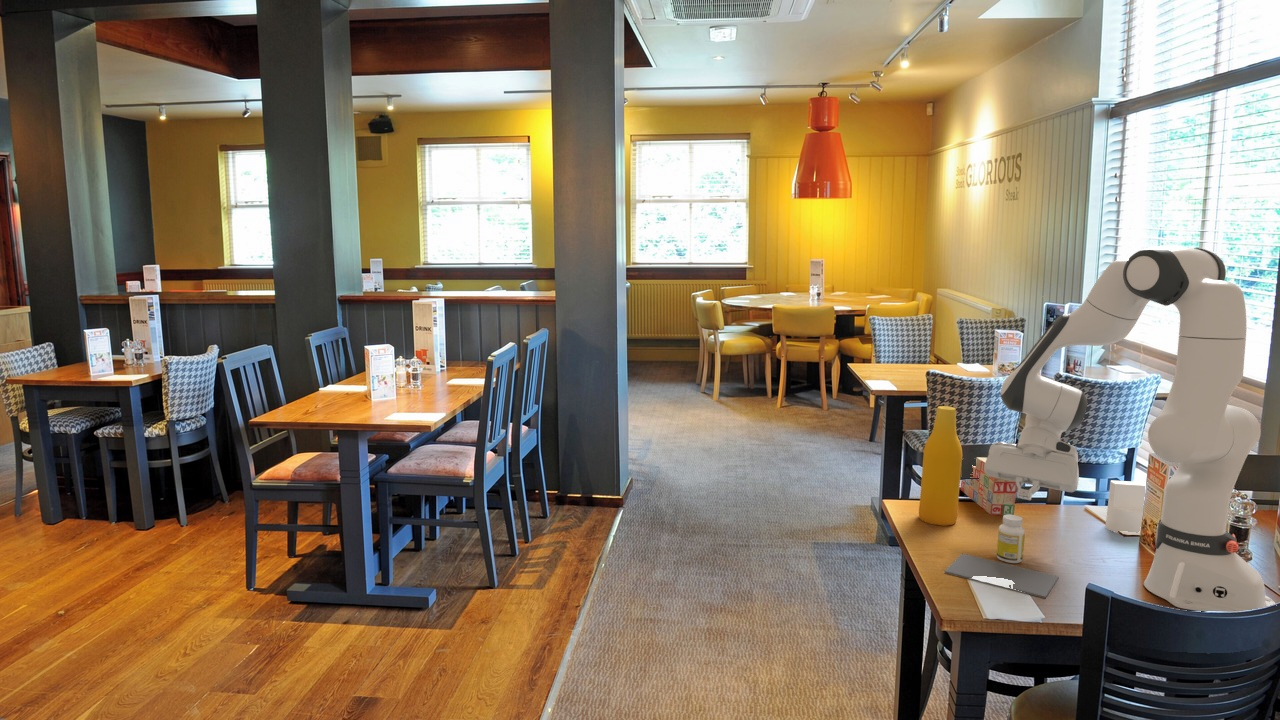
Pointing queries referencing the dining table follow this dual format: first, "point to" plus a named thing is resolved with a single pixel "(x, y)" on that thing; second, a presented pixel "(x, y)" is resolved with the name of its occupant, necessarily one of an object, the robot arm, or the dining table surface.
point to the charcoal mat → (1004, 574)
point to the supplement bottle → (1011, 539)
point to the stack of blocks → (990, 490)
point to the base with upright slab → (1125, 506)
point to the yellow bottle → (941, 471)
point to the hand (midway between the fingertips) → (1023, 497)
